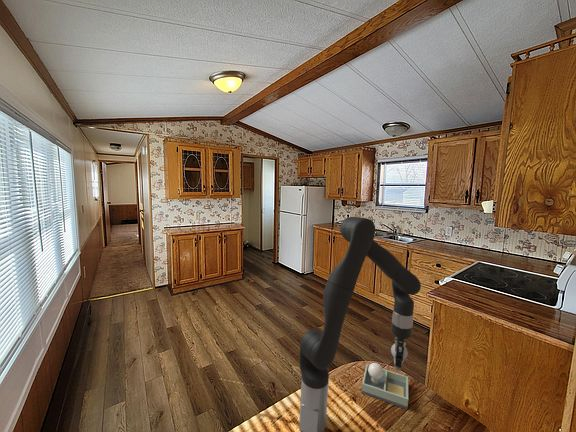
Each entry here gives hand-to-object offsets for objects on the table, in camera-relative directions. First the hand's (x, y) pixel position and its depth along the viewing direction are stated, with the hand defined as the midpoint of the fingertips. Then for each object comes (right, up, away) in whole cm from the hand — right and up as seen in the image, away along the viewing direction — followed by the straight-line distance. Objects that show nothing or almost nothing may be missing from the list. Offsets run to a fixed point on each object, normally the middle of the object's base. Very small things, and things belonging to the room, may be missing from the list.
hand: (398, 361), depth 104 cm
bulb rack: (-4, -13, +3) cm, 14 cm away
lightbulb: (0, -4, +1) cm, 4 cm away
